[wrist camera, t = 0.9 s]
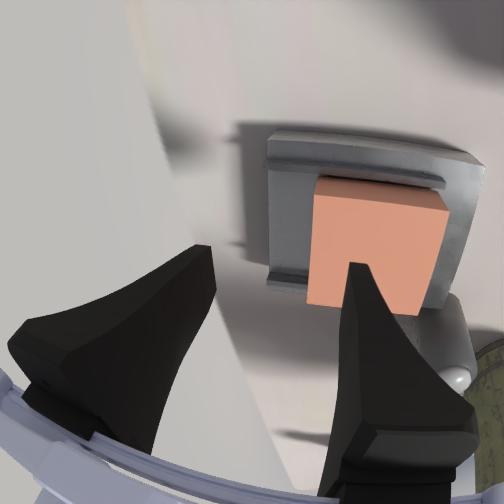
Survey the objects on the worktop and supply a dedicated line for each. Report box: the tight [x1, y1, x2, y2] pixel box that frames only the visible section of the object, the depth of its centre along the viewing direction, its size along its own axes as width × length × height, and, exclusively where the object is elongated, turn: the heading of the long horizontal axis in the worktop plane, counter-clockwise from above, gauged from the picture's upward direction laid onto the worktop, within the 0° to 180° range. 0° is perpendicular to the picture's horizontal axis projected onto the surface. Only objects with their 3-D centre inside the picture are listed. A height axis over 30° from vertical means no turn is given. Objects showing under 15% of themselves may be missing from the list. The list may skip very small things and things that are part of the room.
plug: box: [414, 293, 478, 394], centre depth 19 cm, size 4×4×7 cm
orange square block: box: [307, 176, 450, 316], centre depth 16 cm, size 6×6×2 cm
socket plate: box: [264, 130, 485, 309], centre depth 18 cm, size 12×10×3 cm
